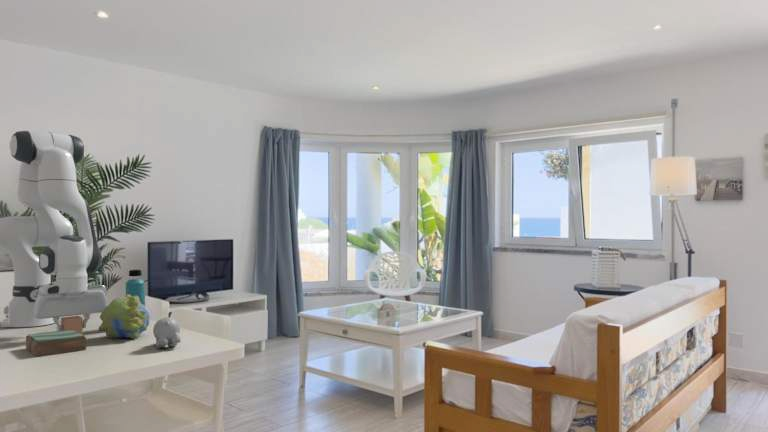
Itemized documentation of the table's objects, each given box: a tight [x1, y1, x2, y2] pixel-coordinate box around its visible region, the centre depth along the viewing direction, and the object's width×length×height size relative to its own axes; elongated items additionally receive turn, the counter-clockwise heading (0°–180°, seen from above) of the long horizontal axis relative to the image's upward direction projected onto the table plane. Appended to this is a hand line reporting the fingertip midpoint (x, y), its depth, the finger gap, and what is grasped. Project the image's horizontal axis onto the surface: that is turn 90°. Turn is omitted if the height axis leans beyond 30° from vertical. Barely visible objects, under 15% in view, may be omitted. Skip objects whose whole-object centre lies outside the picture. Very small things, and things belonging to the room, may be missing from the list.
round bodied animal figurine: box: [152, 316, 182, 349], centre depth 160 cm, size 7×12×8 cm, turn 34°
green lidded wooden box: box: [25, 329, 87, 357], centre depth 157 cm, size 14×12×4 cm
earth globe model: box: [98, 294, 151, 340], centre depth 172 cm, size 14×16×15 cm
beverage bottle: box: [125, 269, 146, 306], centre depth 191 cm, size 6×7×20 cm
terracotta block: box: [60, 315, 84, 335], centre depth 174 cm, size 5×5×6 cm
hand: (71, 329), depth 174 cm, fingers closed on terracotta block, 5 cm apart
